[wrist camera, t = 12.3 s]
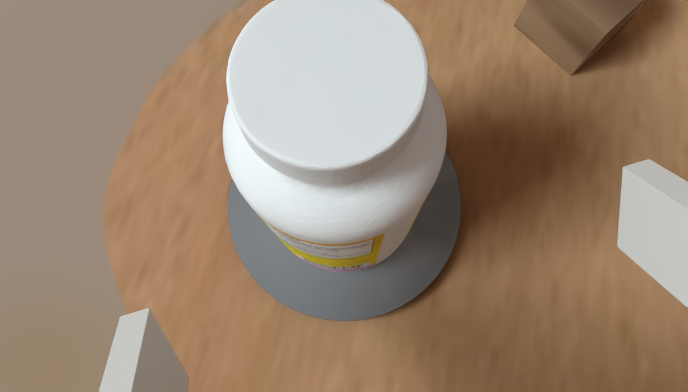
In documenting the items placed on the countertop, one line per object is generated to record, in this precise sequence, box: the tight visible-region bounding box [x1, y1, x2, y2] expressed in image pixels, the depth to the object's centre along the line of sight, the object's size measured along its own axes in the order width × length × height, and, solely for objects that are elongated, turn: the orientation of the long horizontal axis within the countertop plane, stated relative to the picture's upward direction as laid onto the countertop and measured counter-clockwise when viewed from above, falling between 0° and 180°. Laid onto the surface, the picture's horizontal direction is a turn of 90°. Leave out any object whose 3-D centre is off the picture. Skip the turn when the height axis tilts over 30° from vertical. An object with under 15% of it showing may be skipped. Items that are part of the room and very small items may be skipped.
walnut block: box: [514, 0, 647, 76], centre depth 25 cm, size 4×4×4 cm
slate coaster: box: [228, 150, 461, 321], centre depth 24 cm, size 11×11×1 cm
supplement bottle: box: [223, 0, 447, 272], centre depth 18 cm, size 7×7×13 cm
